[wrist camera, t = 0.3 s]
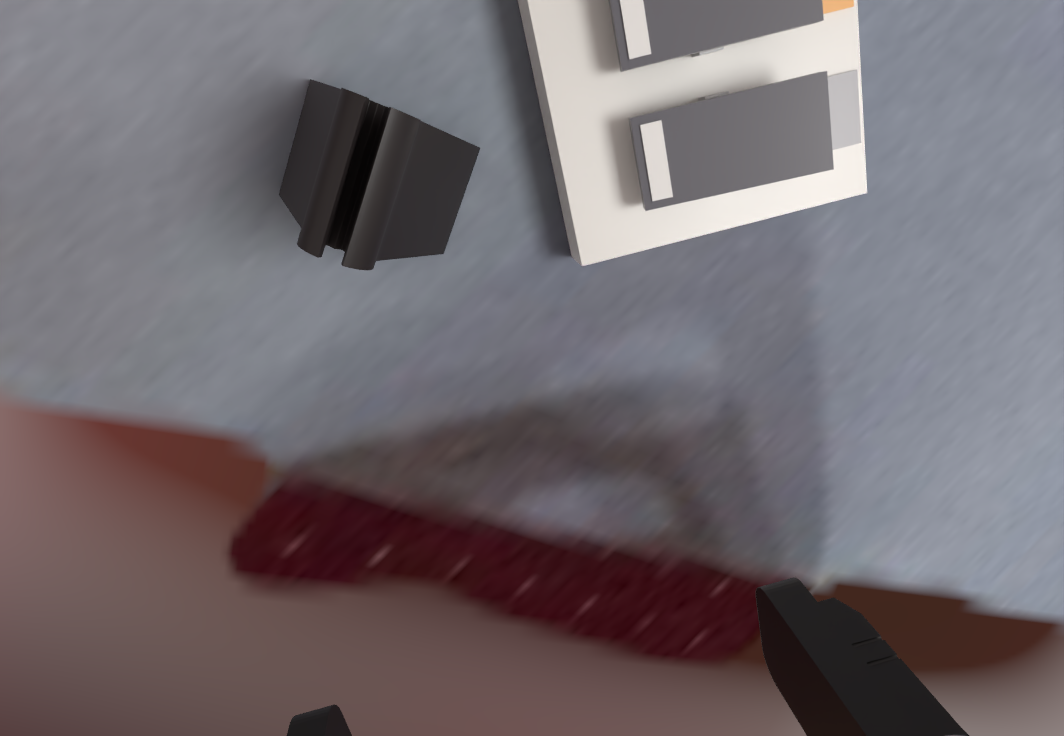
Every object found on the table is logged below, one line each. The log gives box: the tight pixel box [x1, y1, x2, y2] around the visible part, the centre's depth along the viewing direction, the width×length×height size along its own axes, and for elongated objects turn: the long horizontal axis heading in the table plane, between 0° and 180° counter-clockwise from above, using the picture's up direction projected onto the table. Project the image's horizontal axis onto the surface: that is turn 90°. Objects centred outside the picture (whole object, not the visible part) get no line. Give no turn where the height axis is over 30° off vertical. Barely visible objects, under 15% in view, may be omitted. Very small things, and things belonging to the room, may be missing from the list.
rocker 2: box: [628, 71, 834, 211], centre depth 32 cm, size 4×9×1 cm, turn 103°
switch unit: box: [518, 0, 867, 266], centre depth 33 cm, size 22×16×4 cm
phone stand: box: [279, 79, 480, 270], centre depth 30 cm, size 9×6×12 cm, turn 68°
